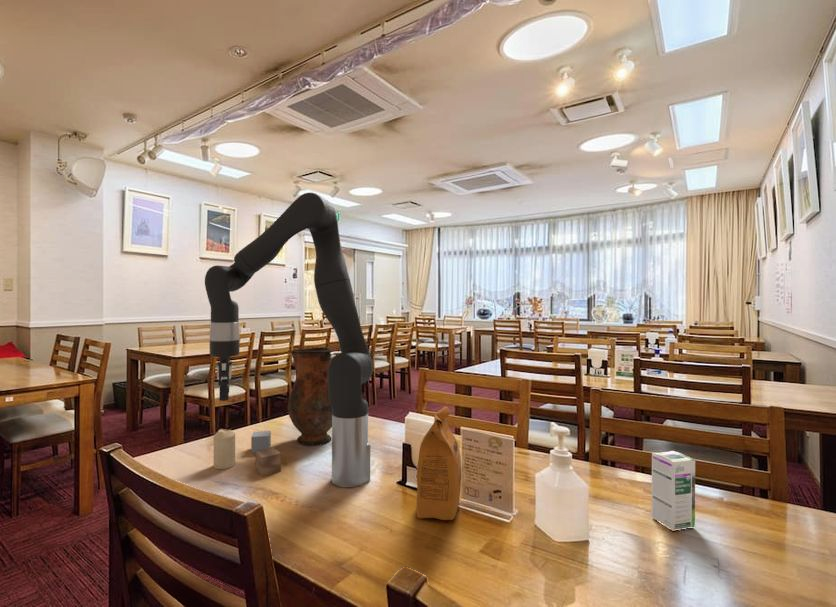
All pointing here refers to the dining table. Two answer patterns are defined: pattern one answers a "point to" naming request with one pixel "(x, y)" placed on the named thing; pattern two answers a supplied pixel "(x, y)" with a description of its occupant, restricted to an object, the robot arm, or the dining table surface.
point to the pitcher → (311, 396)
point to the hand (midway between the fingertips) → (224, 396)
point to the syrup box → (673, 489)
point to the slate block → (260, 441)
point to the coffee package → (438, 471)
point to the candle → (224, 449)
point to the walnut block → (268, 461)
